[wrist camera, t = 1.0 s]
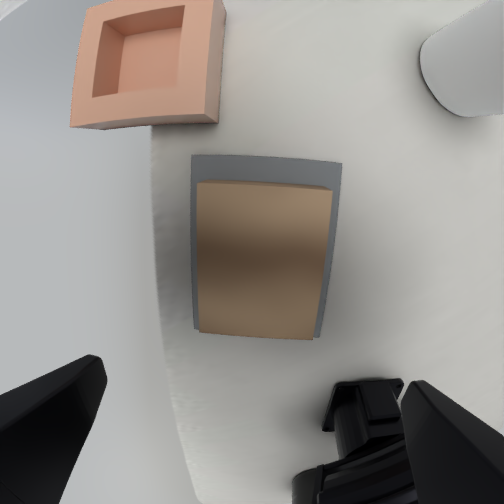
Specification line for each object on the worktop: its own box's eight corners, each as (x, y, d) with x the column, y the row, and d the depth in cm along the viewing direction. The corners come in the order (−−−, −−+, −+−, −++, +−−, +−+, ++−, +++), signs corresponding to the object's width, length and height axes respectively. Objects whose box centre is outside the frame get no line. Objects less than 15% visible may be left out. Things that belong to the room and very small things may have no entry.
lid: (308, 319, 20) (312, 339, 17) (207, 312, 20) (199, 332, 18) (324, 186, 17) (332, 191, 15) (207, 179, 17) (197, 183, 15)
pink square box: (218, 122, 17) (204, 113, 13) (104, 129, 17) (69, 127, 13) (226, 12, 14) (215, -18, 10) (115, 27, 14) (87, 8, 11)
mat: (318, 334, 21) (319, 337, 20) (195, 326, 21) (194, 329, 21) (340, 163, 17) (342, 163, 16) (193, 154, 17) (191, 154, 17)
